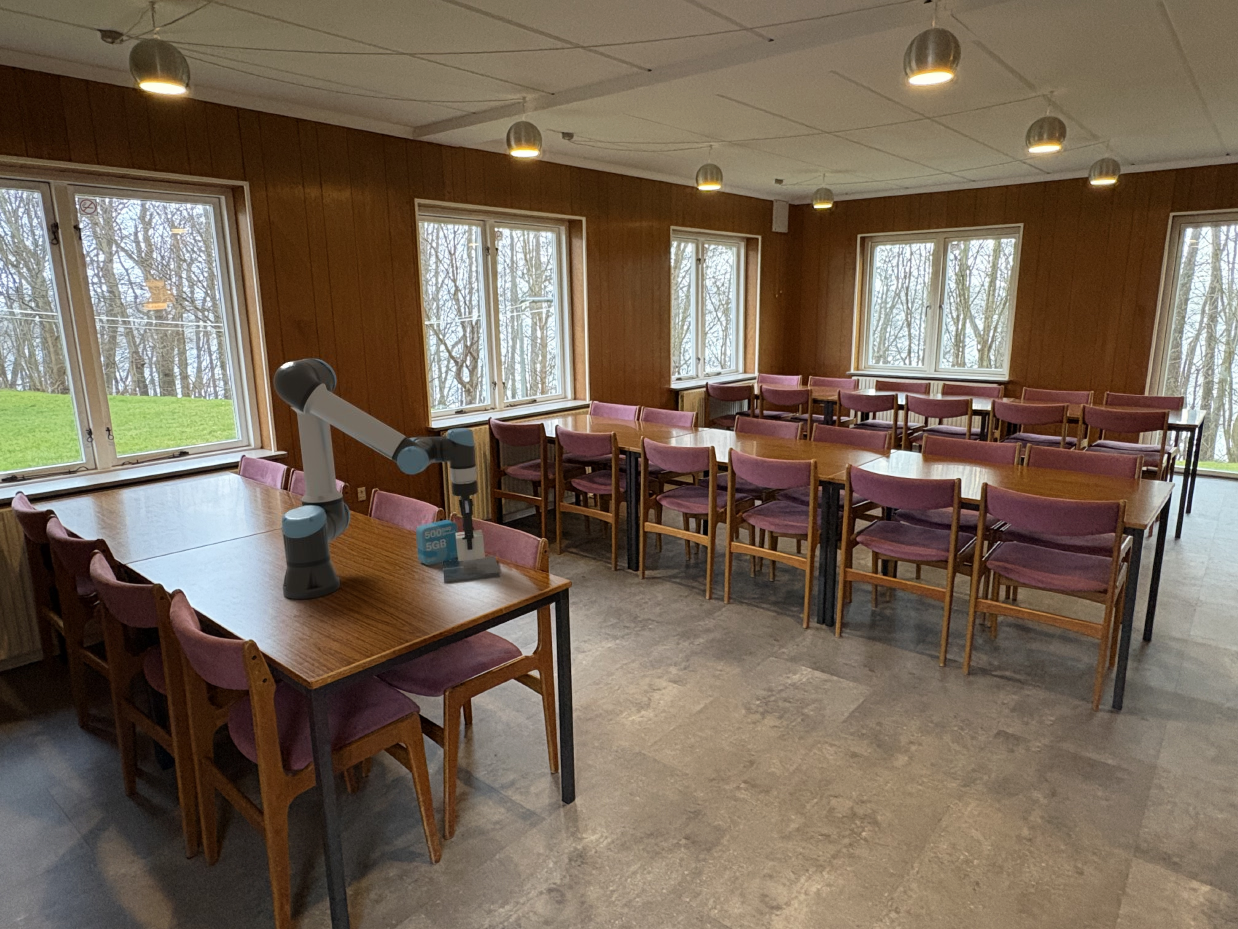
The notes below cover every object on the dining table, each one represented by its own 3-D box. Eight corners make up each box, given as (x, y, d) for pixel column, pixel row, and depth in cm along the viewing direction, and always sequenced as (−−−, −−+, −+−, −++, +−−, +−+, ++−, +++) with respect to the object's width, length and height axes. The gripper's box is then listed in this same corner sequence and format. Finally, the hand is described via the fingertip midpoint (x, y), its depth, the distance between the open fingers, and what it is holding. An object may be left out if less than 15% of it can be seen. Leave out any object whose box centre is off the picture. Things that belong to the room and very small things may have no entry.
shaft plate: (499, 576, 228) (498, 559, 227) (443, 583, 224) (442, 564, 223) (495, 560, 243) (493, 543, 242) (442, 565, 239) (440, 548, 238)
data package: (424, 566, 239) (421, 529, 237) (418, 563, 243) (415, 526, 240) (459, 557, 247) (456, 521, 244) (452, 554, 250) (450, 518, 248)
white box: (484, 558, 231) (482, 535, 229) (458, 561, 229) (456, 538, 227) (483, 551, 237) (481, 529, 235) (457, 555, 235) (455, 532, 233)
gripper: (479, 486, 220) (484, 564, 224) (475, 473, 238) (480, 545, 243) (452, 489, 218) (458, 567, 223) (450, 475, 236) (456, 547, 241)
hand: (470, 555), depth 233 cm, fingers closed on white box, 6 cm apart
